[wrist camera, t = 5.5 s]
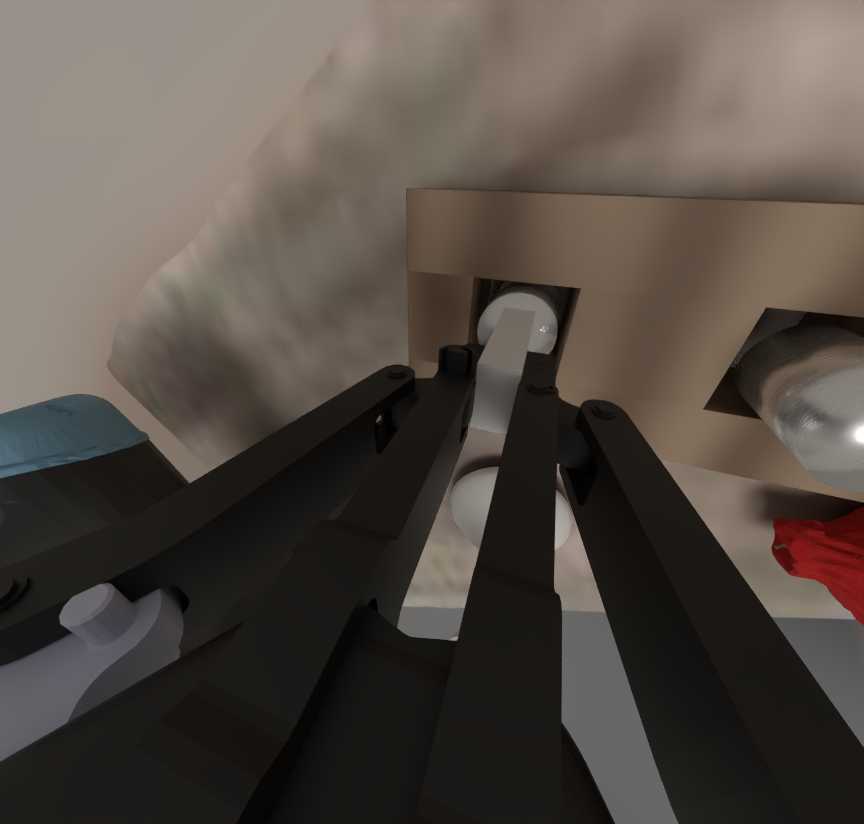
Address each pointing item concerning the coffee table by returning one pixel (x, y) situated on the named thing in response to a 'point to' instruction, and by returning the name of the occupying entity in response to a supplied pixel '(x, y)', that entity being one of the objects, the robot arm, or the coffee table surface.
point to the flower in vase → (474, 503)
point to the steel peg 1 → (526, 299)
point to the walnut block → (643, 301)
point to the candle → (826, 555)
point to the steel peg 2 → (811, 398)
